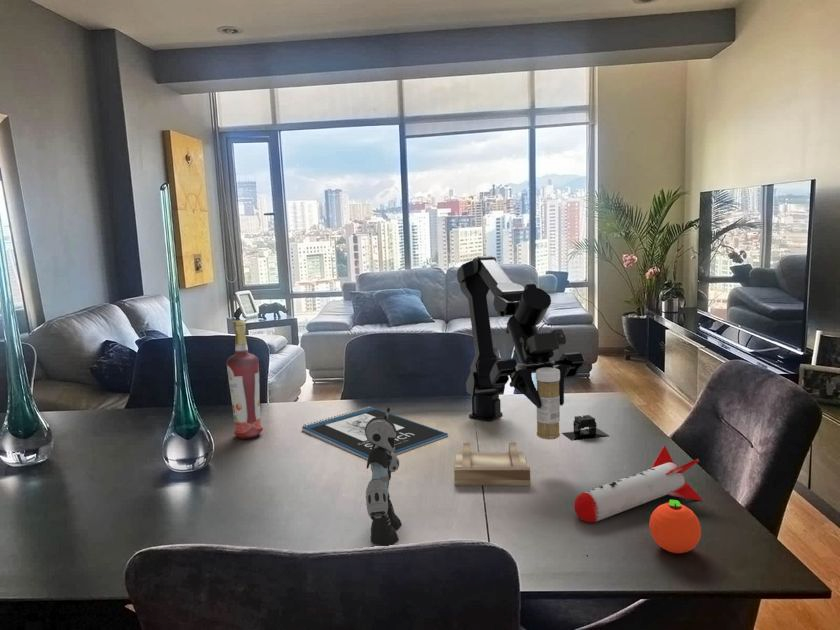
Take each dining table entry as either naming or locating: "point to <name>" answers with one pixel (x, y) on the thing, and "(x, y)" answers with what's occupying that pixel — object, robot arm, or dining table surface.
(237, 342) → the liquor
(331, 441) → the sketchbook
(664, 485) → the model rocket
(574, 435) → the black angular piece
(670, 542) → the clementine
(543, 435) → the sprinkles bottle
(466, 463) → the cradle jig
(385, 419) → the robot
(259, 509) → the dining table surface
